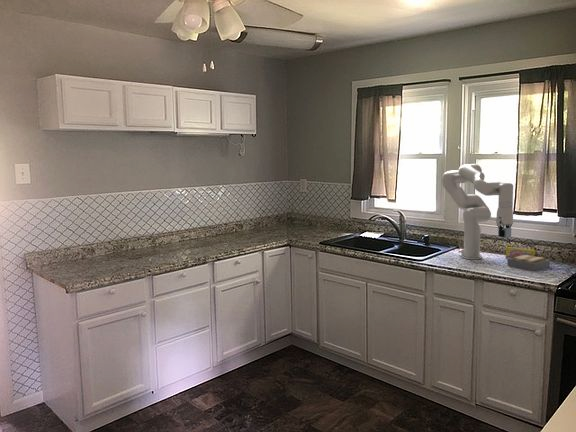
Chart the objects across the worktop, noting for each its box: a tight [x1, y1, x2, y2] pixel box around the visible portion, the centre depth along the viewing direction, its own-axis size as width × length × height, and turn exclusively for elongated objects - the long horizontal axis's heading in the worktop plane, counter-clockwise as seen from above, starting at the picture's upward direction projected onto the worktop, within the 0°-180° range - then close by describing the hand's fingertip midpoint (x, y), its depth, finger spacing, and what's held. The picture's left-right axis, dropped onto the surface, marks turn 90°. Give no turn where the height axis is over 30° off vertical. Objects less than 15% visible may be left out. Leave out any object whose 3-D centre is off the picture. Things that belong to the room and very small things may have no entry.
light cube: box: [497, 227, 512, 239], centre depth 284 cm, size 5×5×5 cm
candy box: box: [505, 246, 536, 260], centre depth 296 cm, size 16×2×8 cm, turn 47°
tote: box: [507, 258, 551, 272], centre depth 281 cm, size 16×16×5 cm
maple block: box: [513, 255, 546, 263], centre depth 280 cm, size 12×12×5 cm
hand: (504, 235), depth 284 cm, fingers closed on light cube, 4 cm apart
